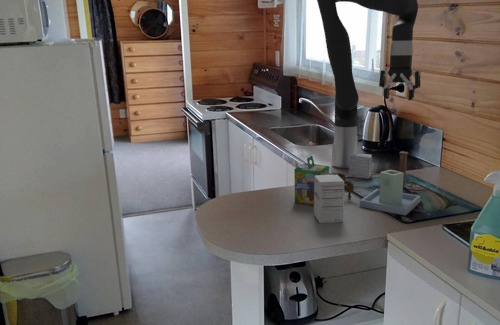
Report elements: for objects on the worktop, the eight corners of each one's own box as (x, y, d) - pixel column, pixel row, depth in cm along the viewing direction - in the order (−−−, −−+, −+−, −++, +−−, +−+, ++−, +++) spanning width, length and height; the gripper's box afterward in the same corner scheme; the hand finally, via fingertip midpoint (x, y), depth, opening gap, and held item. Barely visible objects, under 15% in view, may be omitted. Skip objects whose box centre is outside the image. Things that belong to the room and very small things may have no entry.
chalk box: (319, 206, 150) (320, 161, 147) (293, 202, 155) (293, 158, 151) (329, 198, 158) (330, 155, 154) (304, 194, 163) (305, 153, 159)
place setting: (363, 186, 173) (364, 170, 171) (354, 203, 155) (355, 186, 153) (316, 181, 179) (317, 166, 178) (302, 197, 161) (303, 181, 160)
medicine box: (371, 176, 183) (372, 154, 181) (369, 179, 179) (370, 157, 177) (351, 174, 186) (351, 153, 184) (348, 177, 182) (349, 155, 180)
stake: (397, 187, 168) (399, 152, 165) (399, 185, 170) (401, 151, 167) (403, 188, 167) (406, 153, 164) (406, 186, 169) (408, 152, 166)
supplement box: (313, 214, 143) (313, 174, 140) (337, 213, 144) (338, 173, 141) (318, 223, 136) (319, 181, 133) (343, 222, 137) (345, 180, 134)
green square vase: (376, 202, 151) (378, 172, 149) (389, 198, 154) (390, 169, 152) (389, 206, 147) (391, 176, 145) (401, 202, 150) (403, 172, 148)
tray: (359, 206, 150) (360, 200, 149) (376, 194, 161) (377, 188, 160) (405, 215, 141) (406, 208, 141) (420, 202, 153) (420, 195, 152)
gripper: (378, 54, 169) (375, 99, 173) (418, 54, 161) (415, 101, 165) (385, 53, 175) (383, 97, 179) (424, 53, 166) (421, 99, 170)
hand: (398, 99), depth 172 cm, fingers open, 8 cm apart
